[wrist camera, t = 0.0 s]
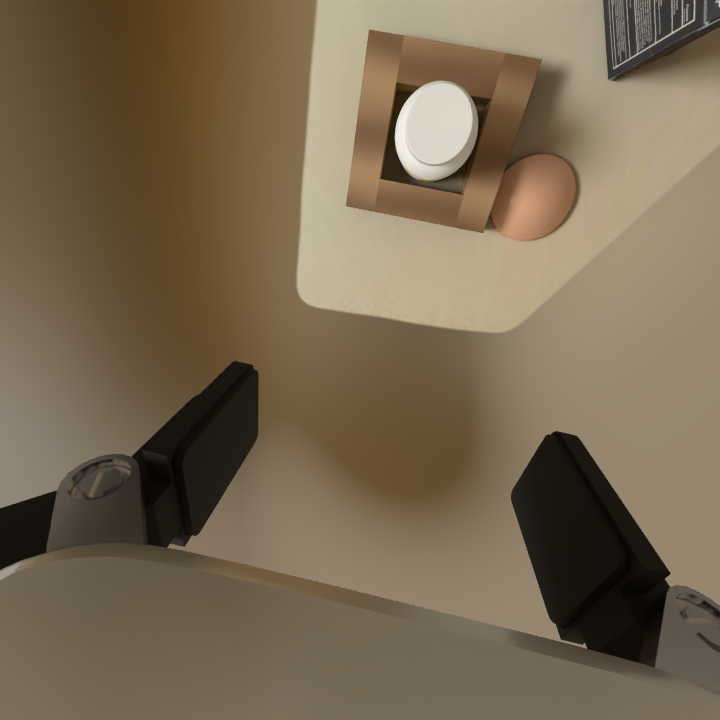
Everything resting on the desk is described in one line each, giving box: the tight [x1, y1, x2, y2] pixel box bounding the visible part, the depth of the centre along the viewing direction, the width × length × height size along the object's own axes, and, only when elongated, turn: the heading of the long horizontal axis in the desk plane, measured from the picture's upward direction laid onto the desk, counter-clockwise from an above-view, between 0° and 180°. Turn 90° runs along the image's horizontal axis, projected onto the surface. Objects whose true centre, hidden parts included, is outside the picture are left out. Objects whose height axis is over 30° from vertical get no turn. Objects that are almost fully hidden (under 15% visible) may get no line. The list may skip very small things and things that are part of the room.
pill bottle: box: [395, 81, 478, 182], centre depth 27 cm, size 6×6×12 cm
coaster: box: [490, 154, 576, 241], centre depth 33 cm, size 8×8×1 cm
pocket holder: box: [346, 30, 542, 233], centre depth 31 cm, size 14×14×3 cm
